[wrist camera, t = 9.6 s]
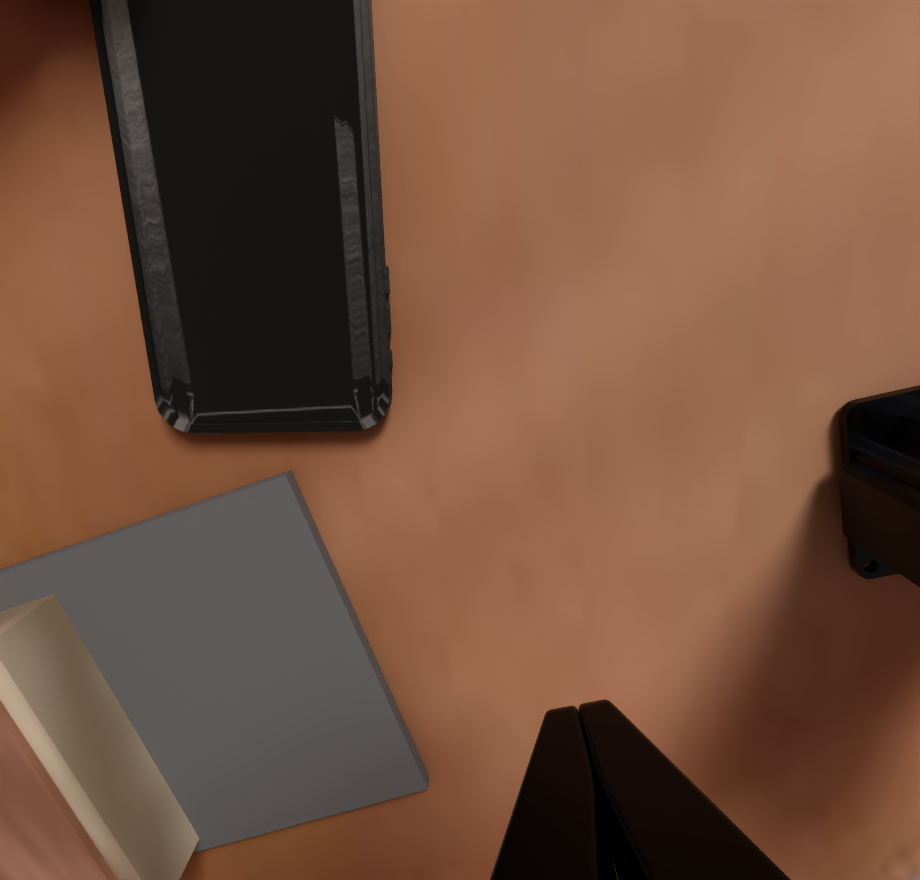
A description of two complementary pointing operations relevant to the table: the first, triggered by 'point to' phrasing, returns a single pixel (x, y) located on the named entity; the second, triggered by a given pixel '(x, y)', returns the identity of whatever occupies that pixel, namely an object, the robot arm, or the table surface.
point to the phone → (252, 208)
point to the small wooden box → (76, 765)
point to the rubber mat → (235, 660)
